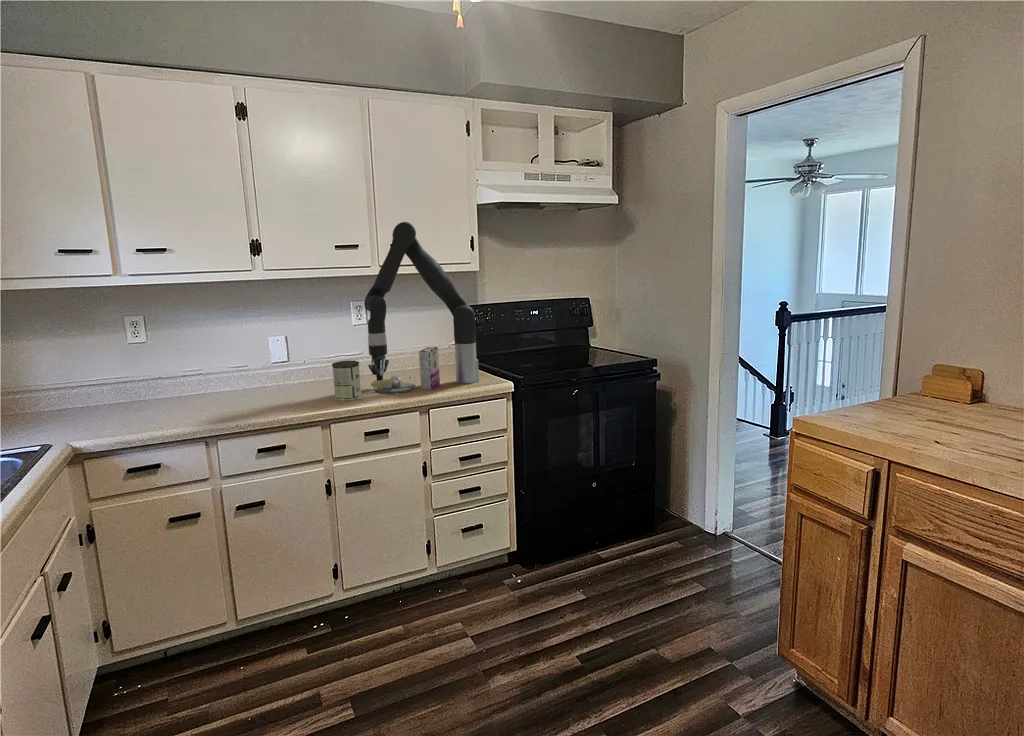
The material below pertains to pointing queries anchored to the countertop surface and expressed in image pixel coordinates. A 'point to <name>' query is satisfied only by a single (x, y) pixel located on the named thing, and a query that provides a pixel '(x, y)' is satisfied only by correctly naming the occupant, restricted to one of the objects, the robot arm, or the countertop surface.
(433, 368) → the candy bar box
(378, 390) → the dial plate
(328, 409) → the countertop surface
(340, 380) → the coffee can
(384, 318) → the robot arm
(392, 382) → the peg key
